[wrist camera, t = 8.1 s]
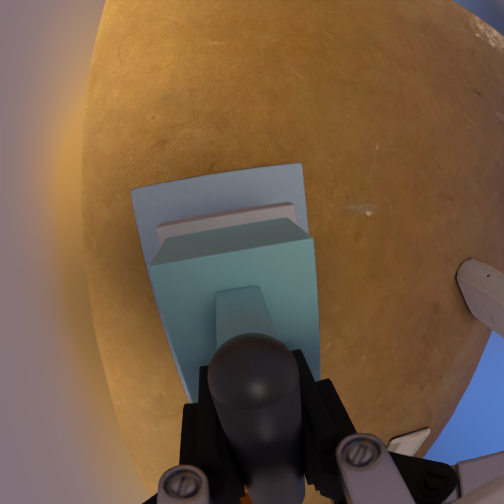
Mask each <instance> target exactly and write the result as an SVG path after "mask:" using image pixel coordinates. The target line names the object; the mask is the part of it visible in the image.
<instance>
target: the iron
mask: <svg viewBox="0 0 504 504" xmlns="http://www.w3.org/2000/svg"><path fill="white" fill-rule="evenodd" d="M156 233H157V237H158V242H159V246H160V249H159V251H158V253H157V254H156V256H155V258H154V259H153V261H152V262H151V264H150V266H149V269H150V272H151V276H152V280H153V284H154V287H155V291H156V294H157V298H158V301H159V305H160V308H161V311H162V315H163V318H164V321H165V325H166V328H167V331H168V334H169V337H170V340H171V343H172V346H173V349H174V352H175V355H176V358H177V361H178V364H179V367H180V369H181V372H182V375H183V378H184V380H185V383H186V386H187V388H188V391H189V394H190V396H191V399H192V401H193V403H198V390H199V369H200V366H206V365H209V368H208V377H207V378H208V384H209V390H210V392H211V395H212V398H213V401H214V404H215V407H216V410H217V413H218V416H219V419H220V422H221V425H222V427H223V430H224V433H225V436H226V438H227V441H228V444H229V447H230V449H231V452H232V454H233V457H234V460H235V462H236V465H237V467H238V470H239V472H240V475H241V477H242V480H243V482H244V485H245V487H246V489H247V492H248V494H249V496H250V499H251V501H252V503H253V504H302V502H303V500H304V497H305V472H304V449H303V430H302V412H301V396H300V382H299V371H298V367H297V362H296V360H295V358H294V356H293V354H292V353H291V351H292V350H297V349H301V350H302V352H303V355H304V357H305V359H306V362H307V364H308V366H309V368H310V371H311V373H312V375H313V377H314V380H315V382H316V381H320V380H321V372H320V335H319V312H318V293H317V277H316V263H315V250H314V239H313V238H312V237H311V236H310V235H309V234H308V233H306V232H305V231H304V230H303V229H301V228H300V227H299V226H298V225H297V216H296V207H295V204H293V203H291V202H282V203H276V204H269V205H262V206H256V207H250V208H244V209H237V210H231V211H225V212H220V213H214V214H208V215H202V216H197V217H191V218H186V219H180V220H175V221H170V222H165V223H160V224H159V225H158V226H157V227H156Z"/></svg>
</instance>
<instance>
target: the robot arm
mask: <svg viewBox="0 0 504 504" xmlns="http://www.w3.org/2000/svg"><path fill="white" fill-rule="evenodd" d="M291 353H292V354H293V356H294V358H295V360H296V362H297V367H298V371H299V382H300V396H301V412H302V430H303V449H304V472H305V477H306V480H307V483H308V485H311V484H314V486H315V489H316V491H318V490H319V491H320V494H321V495H322V496H325V497H327V498H330V500H331V503H332V504H504V451H501V452H497V453H494V454H490V455H486V456H482V457H478V458H474V459H470V460H465V461H460V462H457V463H456V465H451V466H449V465H448V464H445V463H442V462H436V461H431V460H426V459H421V458H416V457H412V456H407V455H403V454H399V453H395V452H391V451H388V450H387V448H386V446H385V444H384V443H383V442H382V440H381V439H380V438H378V437H377V436H375V435H372V434H369V433H357V432H356V430H355V428H354V426H353V424H352V422H351V420H350V418H349V416H348V414H347V412H346V410H345V408H344V406H343V404H342V402H341V400H340V398H339V396H338V394H337V392H336V390H335V388H334V386H333V384H332V382H331V380H330V379H329V378H328V379H324V380H320V381H316V382H315V380H314V377H313V375H312V373H311V371H310V368H309V366H308V364H307V362H306V359H305V357H304V355H303V352H302V350H301V349H297V350H292V351H291ZM208 368H209V365H206V366H200V369H199V390H198V403H188V404H185V405H184V408H183V418H182V431H181V445H180V460H179V465H178V466H174V467H172V468H170V469H168V470H167V471H166V472H164V473H163V475H162V476H161V477H160V480H159V484H158V493H156V494H155V495H154V496H152V497H151V498H150V499H148V500H147V501H145V502H144V503H143V504H241V502H240V497H245V487H244V482H243V480H242V477H241V475H240V472H239V470H238V467H237V465H236V462H235V460H234V457H233V454H232V452H231V449H230V447H229V444H228V441H227V438H226V436H225V433H224V430H223V427H222V425H221V422H220V419H219V416H218V413H217V410H216V407H215V404H214V401H213V398H212V395H211V392H210V390H209V384H208V378H207V377H208Z"/></svg>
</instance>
